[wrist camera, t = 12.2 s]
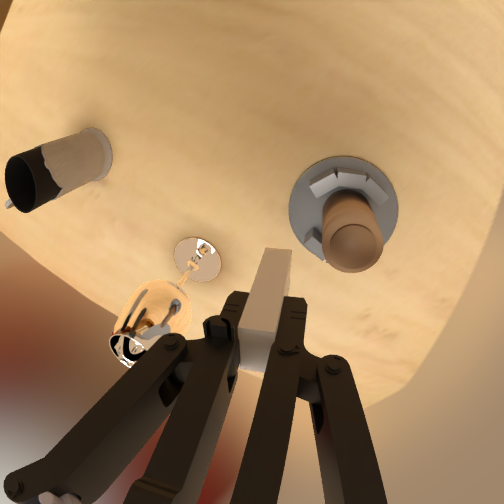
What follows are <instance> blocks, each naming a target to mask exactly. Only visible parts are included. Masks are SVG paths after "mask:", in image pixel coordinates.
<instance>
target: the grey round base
mask: <svg viewBox="0 0 504 504" xmlns="http://www.w3.org/2000/svg"><path fill="white" fill-rule="evenodd" d="M343 189H352V190H355V191H358V192H360V193H361V194H362V195H364V196H365V197H366V199H367V200H368V202H369V204H370V206H371V209H372V211H373V213H374V216H375V218H376V221H377V223H378V226H379V228H380V231H381V233H382V236H383V242H384V245H385V244H386V242H387V241H388V240H389V238H390V237H391V235H392V233H393V231H394V229H395V226H396V223H397V218H398V202H397V197H396V194H395V191H394V189H393V187H392V185H391V183H390V182H389V180H388V179H387V178H386V176H385V175H384V174H383V173H382V172H381V171H380V170H379V169H378V168H377V167H375V166H374V165H372V164H370V163H369V162H367V161H364V160H362V159H359V158H354V157H347V156H339V157H332V158H327V159H325V160H322V161H320V162H318V163H316V164H314V165H313V166H311V167H310V168H308V169H307V170H306V171H305V172H304V173H303V174H302V175H301V177H300V178H299V179H298V181H297V182H296V184H295V186H294V188H293V190H292V193H291V197H290V201H289V219H290V223H291V227H292V229H293V231H294V233H295V235H296V237H297V239H298V240H299V241H300V242H301V244H302V245H303V246H304V247H305V248H306V249H308V250H309V251H310V252H311V253H313V254H315V255H316V256H317V257H318V258H320V259H321V260H322V261H323V260H324V259H325V257H324V255H323V251H322V211H323V206H324V203H325V201H326V200H327V198H328V197H329V196H330V195H331V194H333V193H334V192H336V191H339V190H343ZM384 245H383V246H384ZM326 263H328V262H327V260H326Z"/></svg>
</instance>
